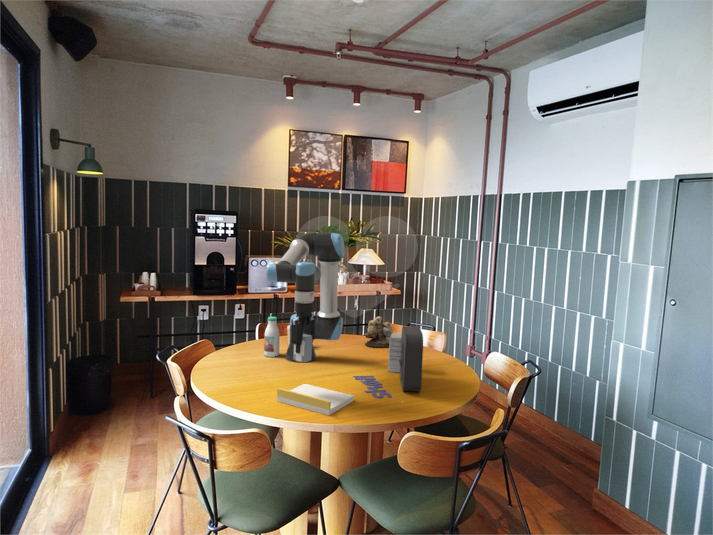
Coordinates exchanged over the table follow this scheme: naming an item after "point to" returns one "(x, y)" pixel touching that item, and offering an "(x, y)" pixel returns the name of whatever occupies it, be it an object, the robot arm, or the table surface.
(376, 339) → the owl figurine
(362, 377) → the signage
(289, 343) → the coffee cup
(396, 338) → the supplement box
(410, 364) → the speaker
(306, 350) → the carton
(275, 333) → the milk bottle
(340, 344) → the table surface
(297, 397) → the display plank
